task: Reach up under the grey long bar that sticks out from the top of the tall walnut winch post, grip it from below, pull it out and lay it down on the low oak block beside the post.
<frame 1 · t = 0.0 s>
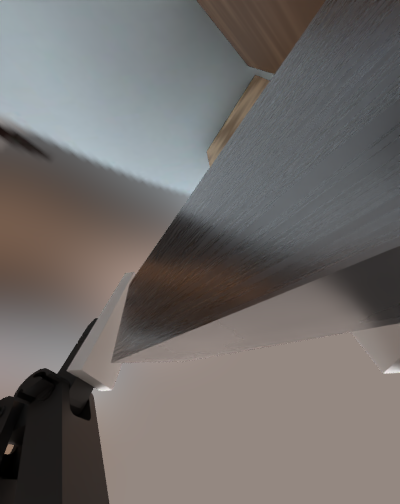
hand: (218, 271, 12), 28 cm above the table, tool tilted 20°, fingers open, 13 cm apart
oak block: (245, 136, 29), on the table
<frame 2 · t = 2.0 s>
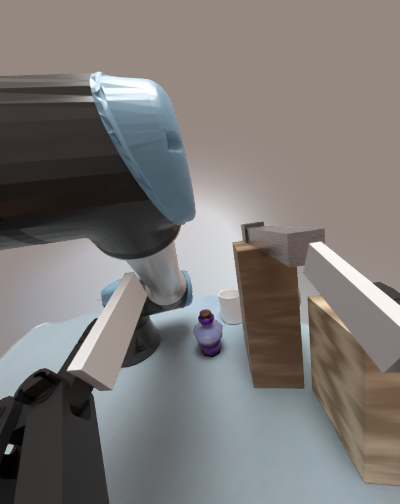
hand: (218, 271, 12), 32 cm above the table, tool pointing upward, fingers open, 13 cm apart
winch post: (268, 359, 40), on the table
grey long bar: (267, 247, 29), point 30 cm above the table, touching winch post
potion bottle: (211, 350, 46), on the table
cup: (237, 319, 59), on the table
oak block: (363, 426, 26), on the table
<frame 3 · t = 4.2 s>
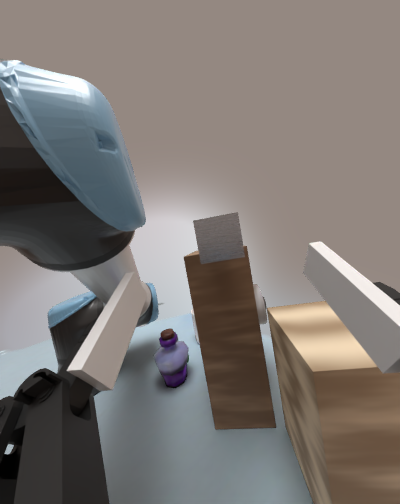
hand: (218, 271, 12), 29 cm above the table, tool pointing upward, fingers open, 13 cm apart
winch post: (239, 389, 33), on the table
grey long bar: (217, 250, 25), point 30 cm above the table, touching winch post
potion bottle: (176, 378, 39), on the table
oak block: (346, 484, 19), on the table
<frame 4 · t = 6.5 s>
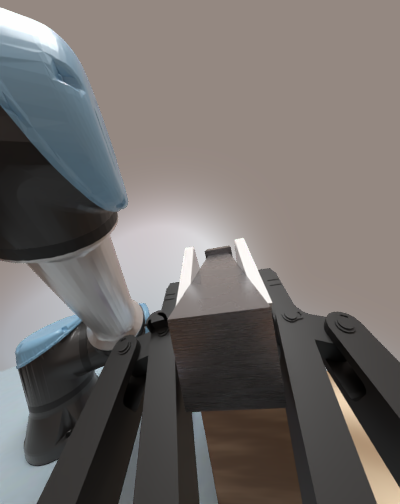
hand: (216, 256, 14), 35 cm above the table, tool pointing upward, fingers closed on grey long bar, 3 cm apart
winch post: (251, 453, 26), on the table
grey long bar: (223, 290, 18), point 30 cm above the table, touching gripper, winch post
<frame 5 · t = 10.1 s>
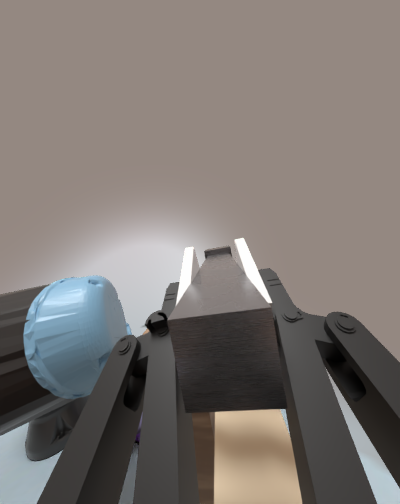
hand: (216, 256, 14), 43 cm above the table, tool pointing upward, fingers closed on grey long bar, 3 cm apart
winch post: (201, 450, 34), on the table
grey long bar: (223, 290, 18), point 39 cm above the table, touching gripper
when the fingers open (26 cm above the table, at t = 13.5 s): grey long bar drops 2 cm, resting on oak block.
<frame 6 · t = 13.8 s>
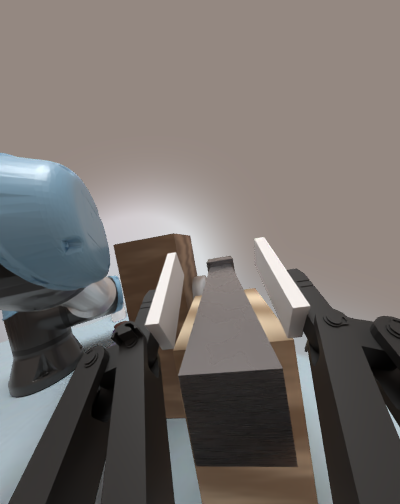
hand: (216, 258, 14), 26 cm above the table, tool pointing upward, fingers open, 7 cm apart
beige pointed piece: (119, 319, 73), on the table
winch post: (186, 380, 33), on the table
grey long bar: (226, 307, 18), point 20 cm above the table, touching oak block
oak block: (253, 471, 19), on the table
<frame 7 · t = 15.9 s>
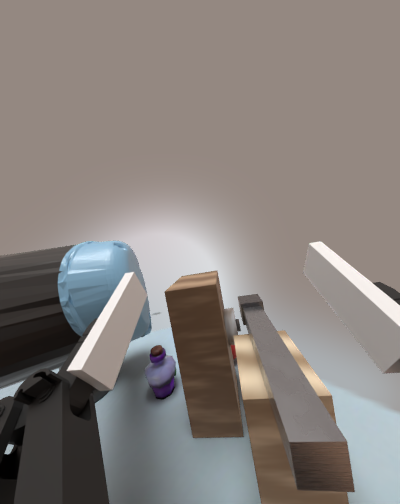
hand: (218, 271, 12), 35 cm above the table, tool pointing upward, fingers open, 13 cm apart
winch post: (218, 401, 38), on the table
onion: (231, 360, 50), on the table
grey long bar: (267, 353, 23), point 20 cm above the table, touching oak block
potion bottle: (164, 390, 44), on the table
oak block: (290, 485, 23), on the table
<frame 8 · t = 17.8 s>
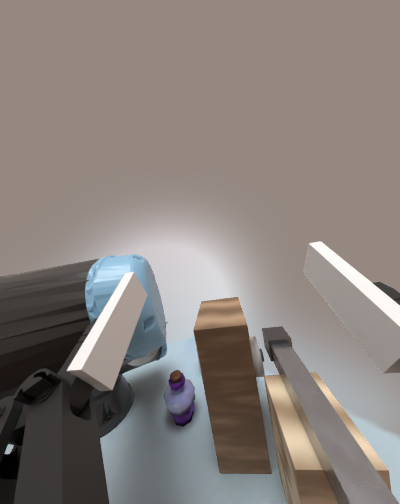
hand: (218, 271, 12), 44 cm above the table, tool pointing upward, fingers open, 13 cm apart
winch post: (240, 430, 38), on the table
grey long bar: (306, 404, 23), point 20 cm above the table, touching oak block
potion bottle: (183, 415, 44), on the table
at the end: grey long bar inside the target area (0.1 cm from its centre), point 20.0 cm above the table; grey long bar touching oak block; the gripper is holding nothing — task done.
